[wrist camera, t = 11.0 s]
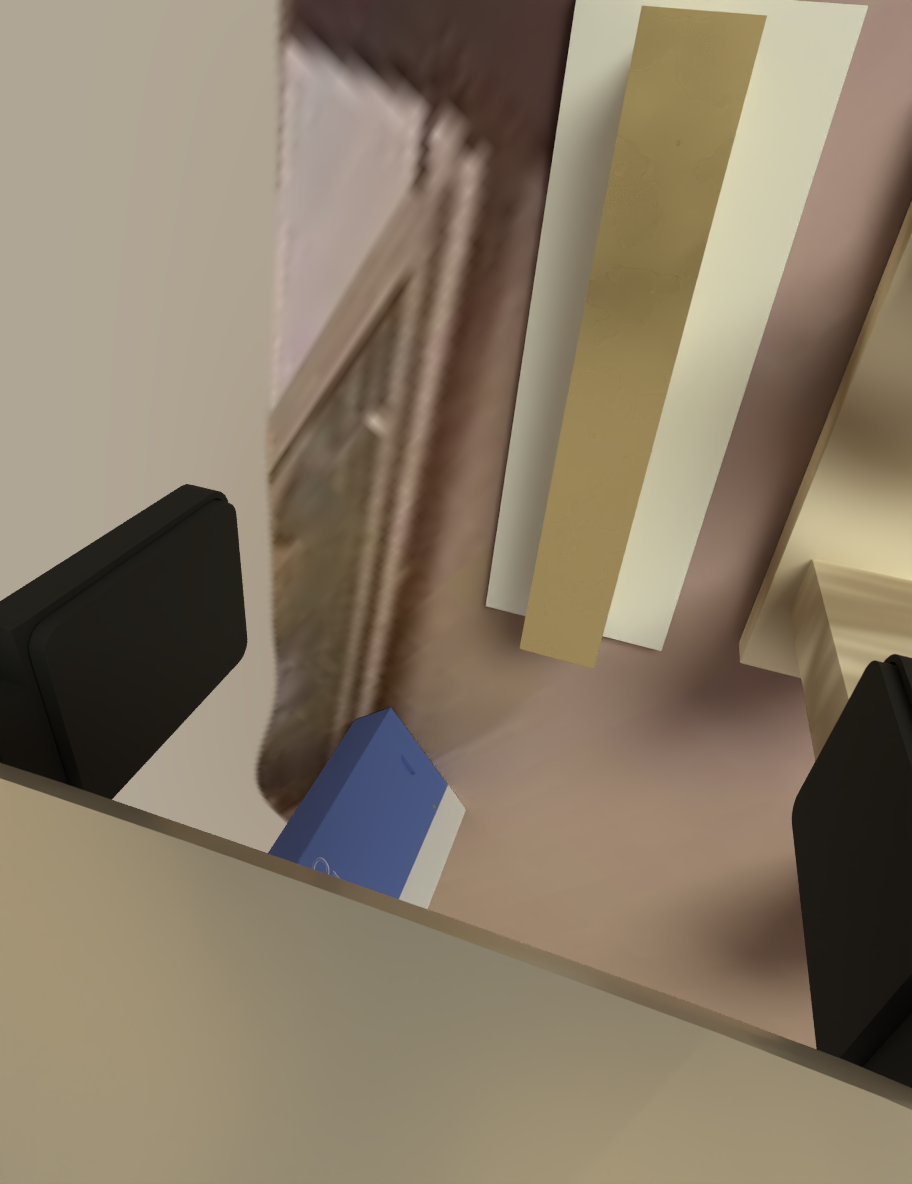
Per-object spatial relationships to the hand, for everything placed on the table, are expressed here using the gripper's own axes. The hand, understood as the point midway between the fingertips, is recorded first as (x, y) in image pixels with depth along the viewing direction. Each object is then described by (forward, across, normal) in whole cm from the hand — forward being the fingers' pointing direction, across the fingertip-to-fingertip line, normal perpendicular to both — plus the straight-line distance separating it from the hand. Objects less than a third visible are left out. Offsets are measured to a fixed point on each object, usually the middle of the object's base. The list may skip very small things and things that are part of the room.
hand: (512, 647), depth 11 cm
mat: (+19, 0, +1) cm, 19 cm away
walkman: (+19, +7, +24) cm, 31 cm away
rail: (+18, 0, +1) cm, 18 cm away
